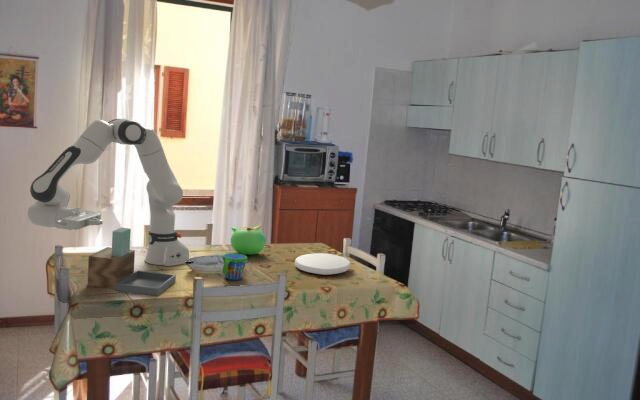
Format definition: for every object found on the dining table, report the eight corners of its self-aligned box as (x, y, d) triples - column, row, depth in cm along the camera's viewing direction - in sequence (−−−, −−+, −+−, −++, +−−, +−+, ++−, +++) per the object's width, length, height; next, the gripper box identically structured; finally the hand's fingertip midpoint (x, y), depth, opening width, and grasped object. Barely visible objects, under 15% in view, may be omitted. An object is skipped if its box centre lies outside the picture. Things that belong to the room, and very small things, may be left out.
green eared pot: (231, 257, 301) (233, 228, 299) (228, 249, 317) (230, 221, 315) (266, 258, 305) (269, 230, 303) (262, 250, 321) (264, 223, 319)
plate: (328, 270, 276) (283, 258, 291) (328, 284, 277) (283, 271, 292) (361, 255, 298) (317, 245, 313) (360, 268, 300) (317, 257, 315)
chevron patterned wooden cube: (87, 285, 238) (88, 256, 237) (106, 274, 254) (107, 247, 252) (116, 289, 237) (118, 259, 235) (133, 278, 253) (134, 250, 251)
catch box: (115, 290, 235) (115, 283, 235) (136, 277, 255) (136, 270, 255) (157, 296, 234) (158, 288, 233) (175, 281, 253) (175, 275, 253)
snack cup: (234, 272, 276) (235, 250, 274) (253, 277, 271) (255, 255, 269) (212, 279, 262) (214, 256, 260) (232, 284, 257) (233, 261, 255)
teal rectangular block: (111, 255, 240) (112, 231, 238) (120, 251, 248) (121, 227, 246) (121, 257, 239) (122, 232, 238) (129, 252, 247) (130, 228, 246)
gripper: (54, 214, 233) (88, 219, 232) (81, 207, 253) (112, 211, 252) (54, 230, 234) (87, 235, 233) (80, 222, 254) (111, 226, 253)
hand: (101, 222), depth 243 cm, fingers closed
